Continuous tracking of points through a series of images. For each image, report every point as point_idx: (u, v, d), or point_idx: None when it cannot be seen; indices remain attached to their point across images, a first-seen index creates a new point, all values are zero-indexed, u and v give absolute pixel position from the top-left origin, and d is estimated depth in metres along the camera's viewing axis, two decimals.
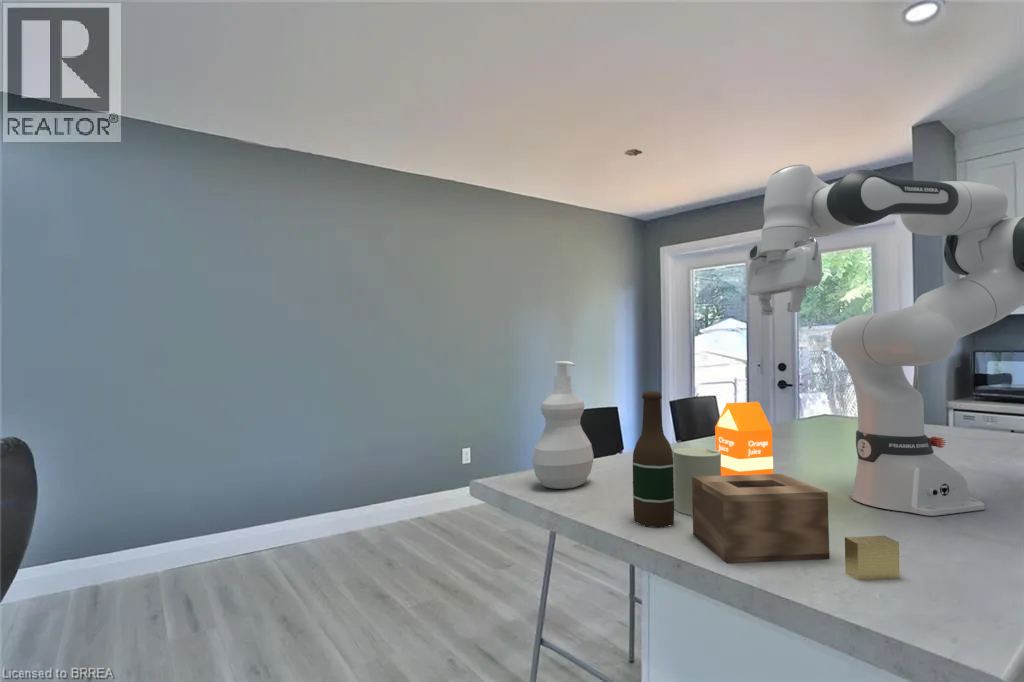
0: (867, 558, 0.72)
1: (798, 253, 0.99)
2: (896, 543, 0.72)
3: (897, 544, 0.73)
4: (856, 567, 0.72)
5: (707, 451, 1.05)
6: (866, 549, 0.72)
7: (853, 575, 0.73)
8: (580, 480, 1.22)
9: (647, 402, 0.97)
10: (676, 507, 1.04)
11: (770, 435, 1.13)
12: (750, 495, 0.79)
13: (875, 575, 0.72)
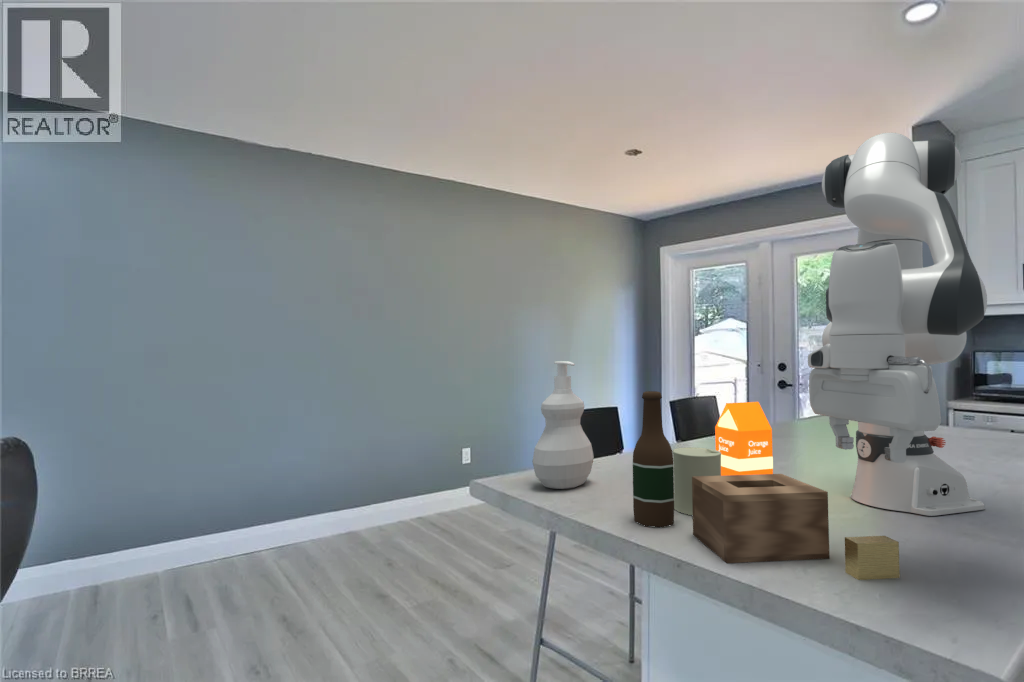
0: (867, 558, 0.72)
1: (898, 380, 0.66)
2: (896, 543, 0.73)
3: (897, 544, 0.73)
4: (856, 567, 0.72)
5: (707, 451, 1.05)
6: (866, 549, 0.72)
7: (853, 575, 0.73)
8: (580, 480, 1.22)
9: (647, 402, 0.97)
10: (676, 507, 1.04)
11: (770, 435, 1.13)
12: (750, 495, 0.79)
13: (875, 575, 0.72)
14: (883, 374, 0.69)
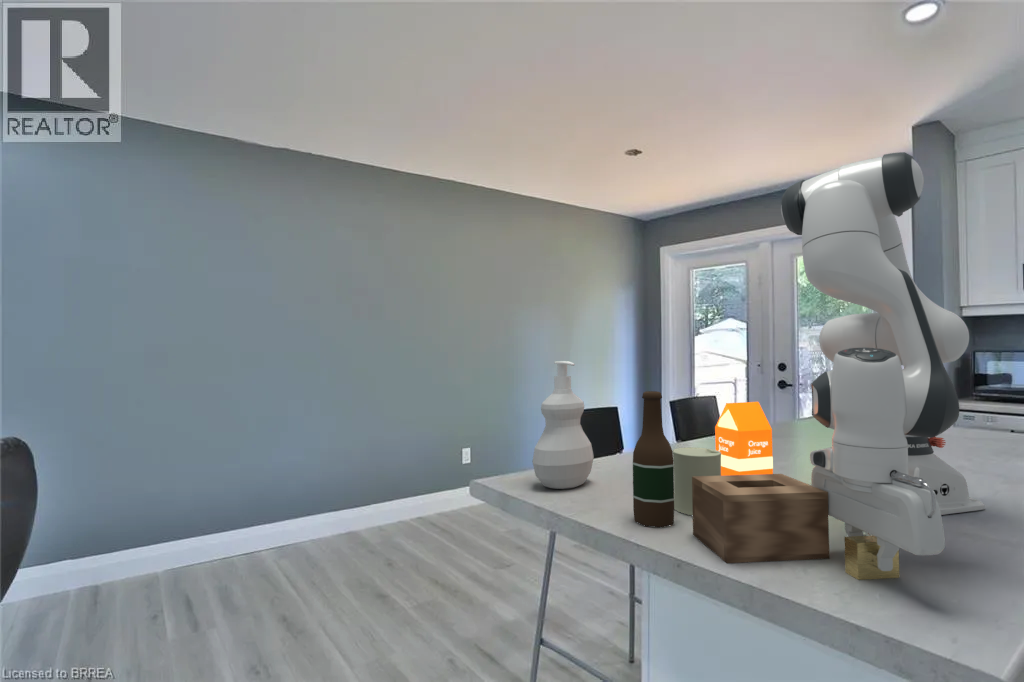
0: (866, 558, 0.72)
1: (901, 501, 0.66)
2: None
3: None
4: (856, 567, 0.72)
5: (707, 451, 1.05)
6: (866, 548, 0.72)
7: (853, 574, 0.73)
8: (580, 480, 1.22)
9: (647, 402, 0.97)
10: (676, 507, 1.04)
11: (770, 435, 1.13)
12: (750, 495, 0.79)
13: (875, 574, 0.72)
14: (886, 490, 0.69)
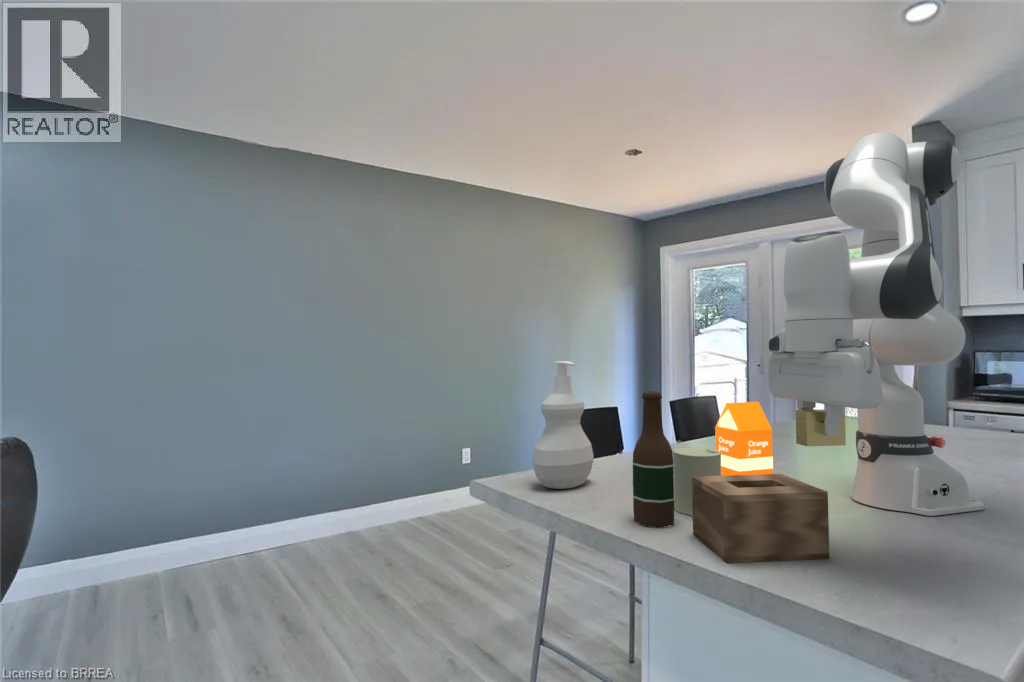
0: (815, 426, 0.77)
1: (844, 361, 0.71)
2: None
3: None
4: (805, 434, 0.77)
5: (707, 451, 1.05)
6: (814, 417, 0.77)
7: (803, 443, 0.77)
8: (580, 480, 1.22)
9: (647, 402, 0.97)
10: (676, 507, 1.04)
11: (770, 435, 1.13)
12: (750, 495, 0.79)
13: (823, 442, 0.77)
14: (831, 356, 0.73)
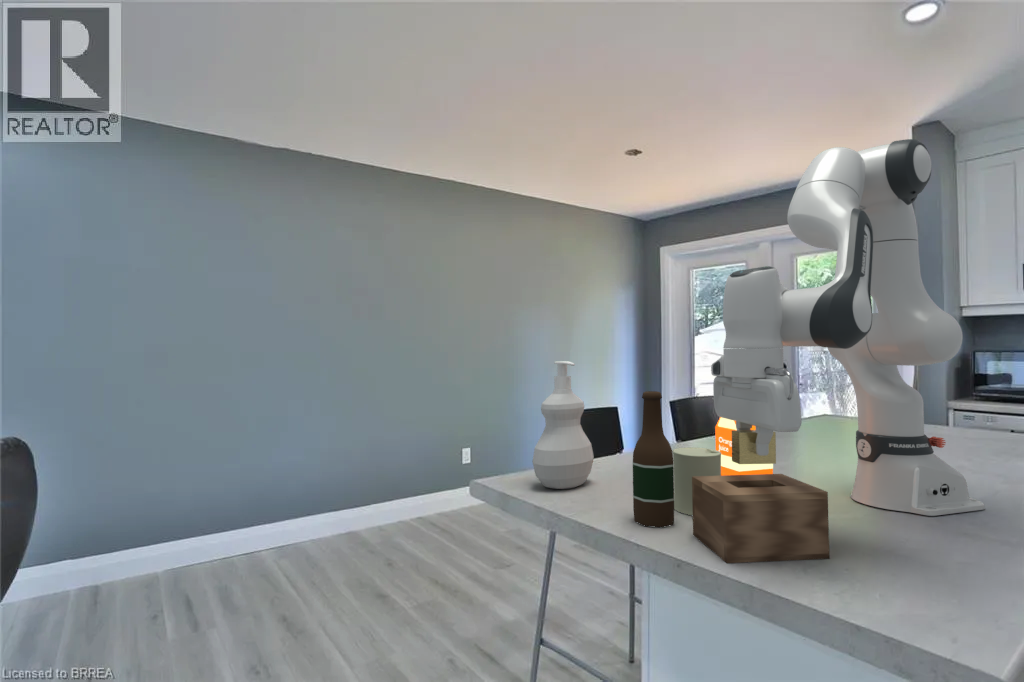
0: (747, 445, 0.84)
1: (768, 388, 0.77)
2: (773, 433, 0.84)
3: (774, 434, 0.84)
4: (738, 453, 0.84)
5: (707, 451, 1.05)
6: (747, 437, 0.84)
7: (736, 461, 0.84)
8: (580, 480, 1.22)
9: (647, 402, 0.97)
10: (676, 507, 1.04)
11: None
12: (750, 495, 0.79)
13: (754, 460, 0.84)
14: (760, 383, 0.80)
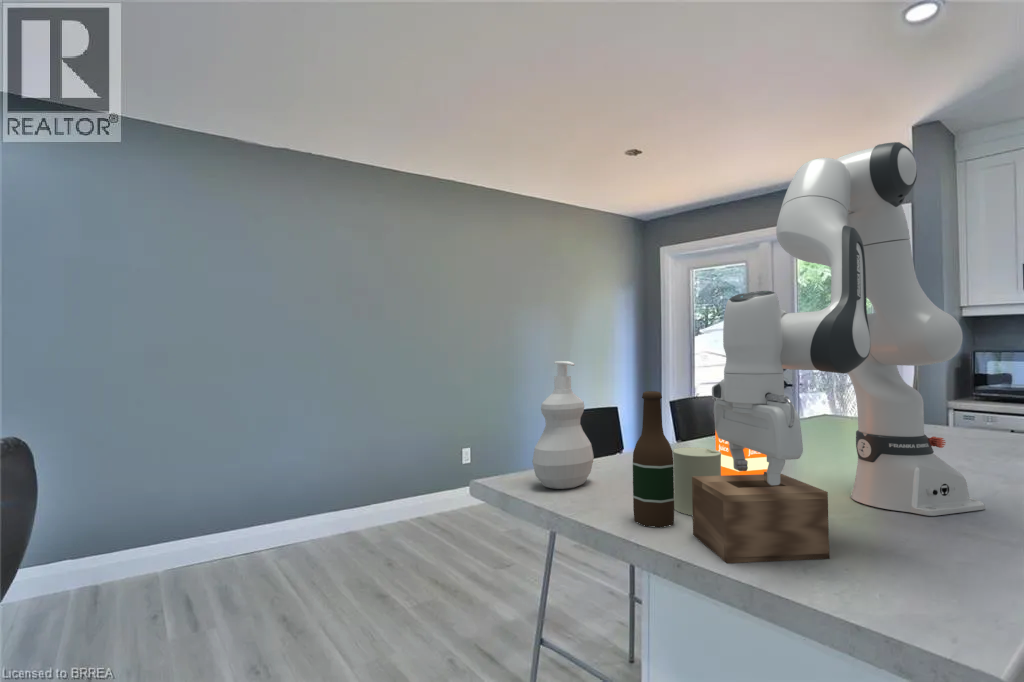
0: None
1: (769, 415, 0.77)
2: None
3: None
4: None
5: (707, 451, 1.05)
6: None
7: None
8: (580, 480, 1.22)
9: (647, 402, 0.97)
10: (676, 507, 1.04)
11: None
12: (750, 495, 0.79)
13: None
14: (761, 409, 0.80)
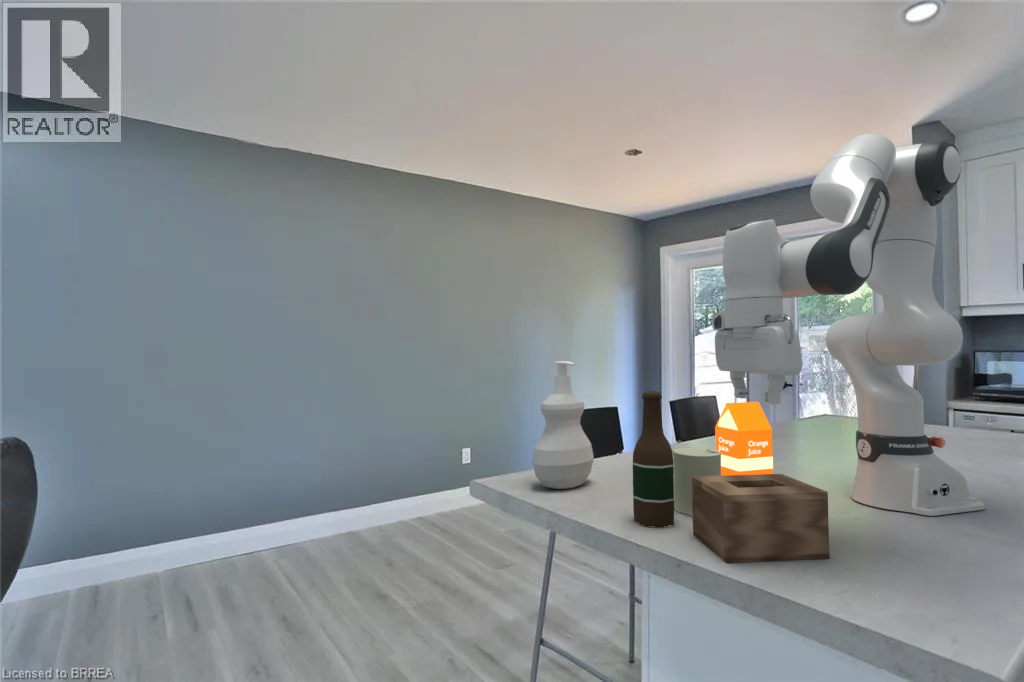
0: None
1: (769, 334, 0.80)
2: None
3: None
4: None
5: (707, 451, 1.05)
6: None
7: None
8: (580, 480, 1.22)
9: (647, 402, 0.97)
10: (676, 507, 1.04)
11: (770, 435, 1.14)
12: (750, 495, 0.79)
13: None
14: (761, 330, 0.82)
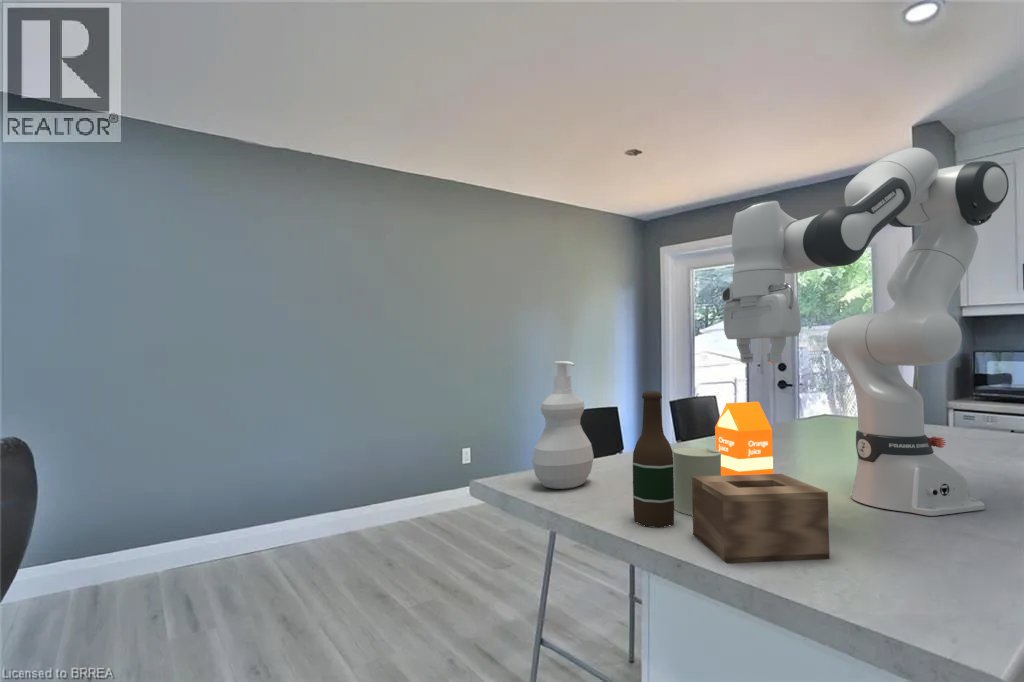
0: None
1: (772, 301, 0.90)
2: None
3: None
4: None
5: (707, 451, 1.05)
6: None
7: None
8: (580, 480, 1.22)
9: (647, 402, 0.97)
10: (676, 507, 1.04)
11: (770, 435, 1.13)
12: (750, 495, 0.79)
13: None
14: (765, 298, 0.93)
